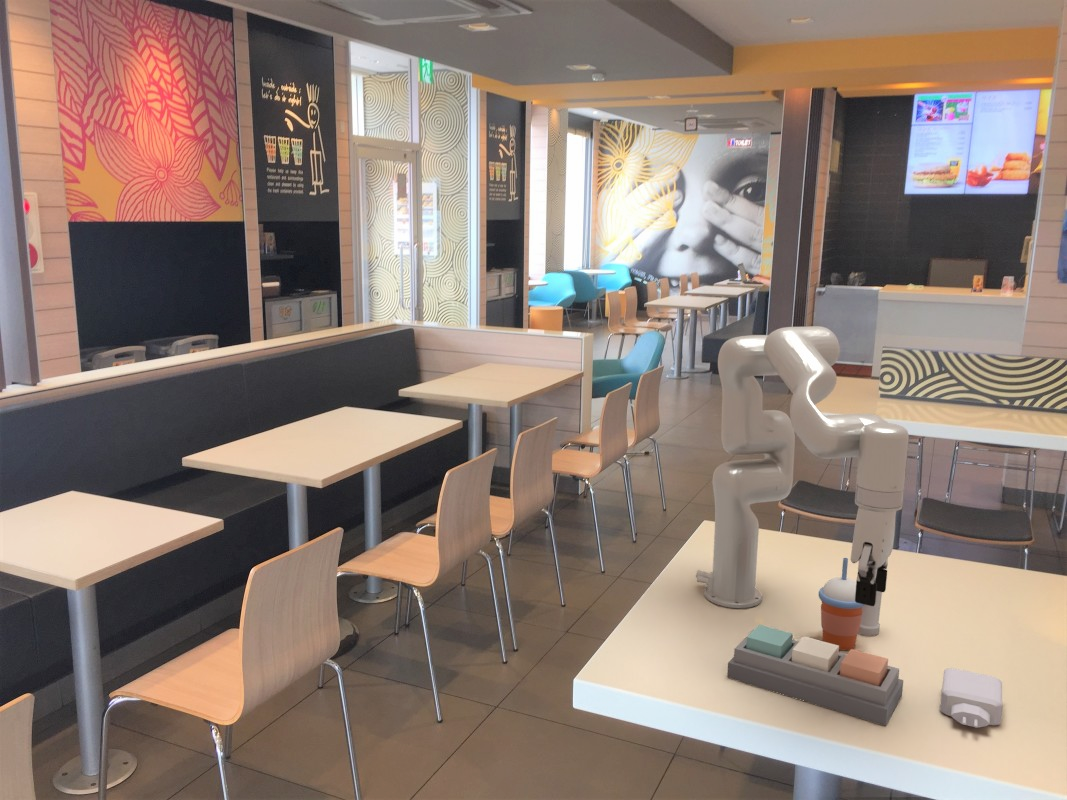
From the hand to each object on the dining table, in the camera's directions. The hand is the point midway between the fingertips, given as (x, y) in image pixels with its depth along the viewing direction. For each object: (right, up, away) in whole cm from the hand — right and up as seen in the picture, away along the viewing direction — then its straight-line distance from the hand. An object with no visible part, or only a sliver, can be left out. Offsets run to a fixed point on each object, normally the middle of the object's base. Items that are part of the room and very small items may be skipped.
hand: (870, 595), depth 151 cm
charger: (+17, -21, -1) cm, 27 cm away
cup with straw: (+3, -15, +25) cm, 30 cm away
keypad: (-7, -18, +8) cm, 21 cm away
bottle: (+11, -14, +31) cm, 36 cm away
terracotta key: (0, -15, +3) cm, 15 cm away
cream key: (-7, -14, +8) cm, 17 cm away
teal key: (-14, -13, +12) cm, 23 cm away
